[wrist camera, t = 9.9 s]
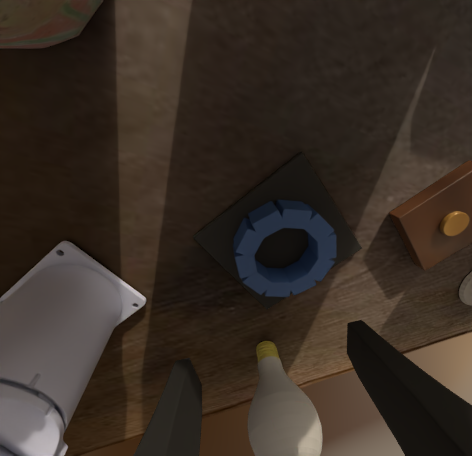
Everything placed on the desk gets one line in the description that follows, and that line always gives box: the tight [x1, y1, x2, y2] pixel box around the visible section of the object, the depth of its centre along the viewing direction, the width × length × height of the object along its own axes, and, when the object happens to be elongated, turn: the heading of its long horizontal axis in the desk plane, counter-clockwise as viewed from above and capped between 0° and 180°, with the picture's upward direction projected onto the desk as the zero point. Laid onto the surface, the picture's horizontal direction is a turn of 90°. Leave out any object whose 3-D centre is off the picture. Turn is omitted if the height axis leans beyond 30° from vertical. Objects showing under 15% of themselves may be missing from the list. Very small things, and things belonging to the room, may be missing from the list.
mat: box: [193, 152, 362, 309], centre depth 19 cm, size 10×10×1 cm
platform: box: [389, 161, 472, 271], centre depth 18 cm, size 7×7×2 cm
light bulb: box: [248, 341, 322, 456], centre depth 19 cm, size 6×5×10 cm
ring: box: [233, 200, 336, 297], centre depth 18 cm, size 7×8×2 cm
